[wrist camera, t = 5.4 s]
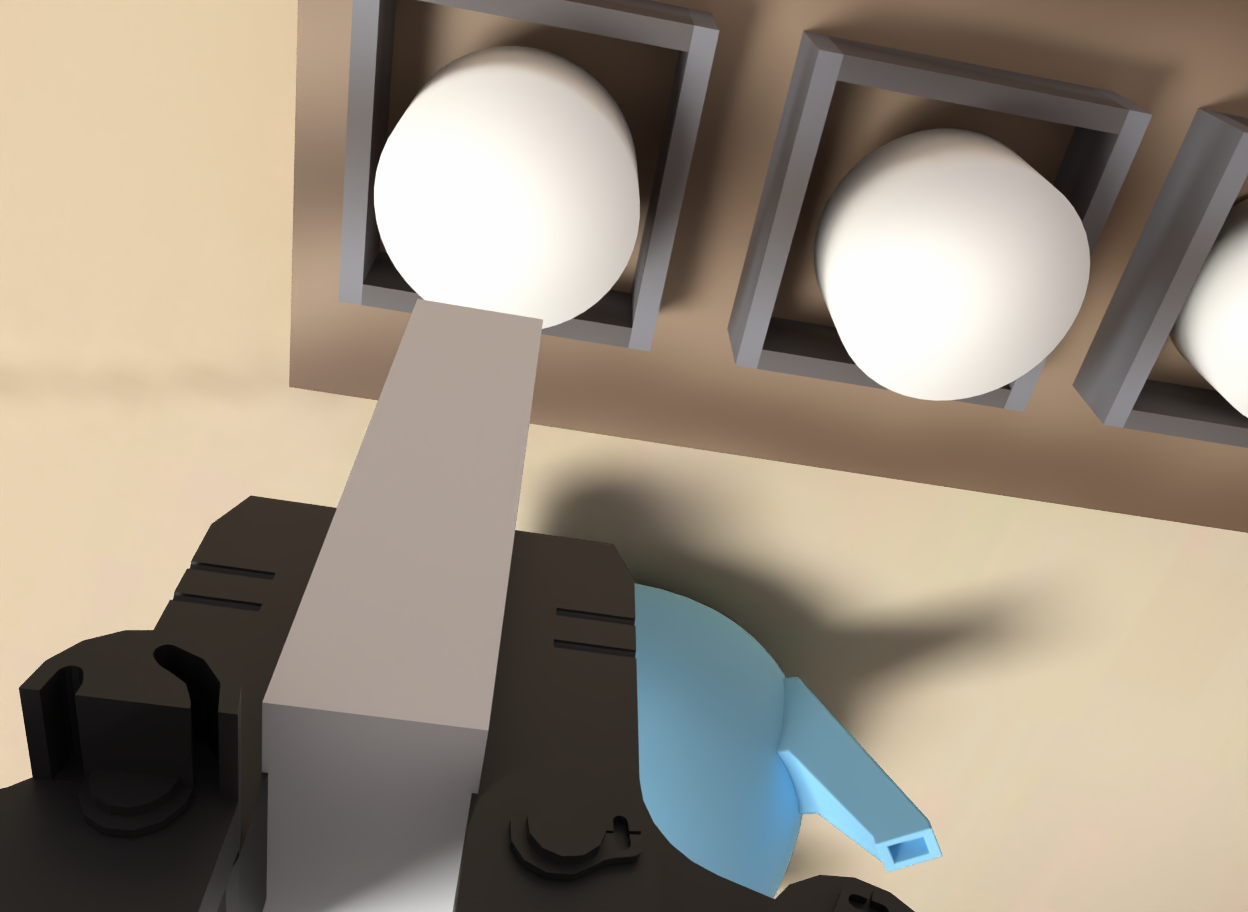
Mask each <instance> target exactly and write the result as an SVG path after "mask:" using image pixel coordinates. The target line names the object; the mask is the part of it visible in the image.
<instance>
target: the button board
mask: <svg viewBox="0 0 1248 912" xmlns="http://www.w3.org/2000/svg"><path fill="white" fill-rule="evenodd" d="M498 46H523V47H531V48H536V49H540V50H544V51H548V52H551V53H554V54H556V55H559V56H561V57H563V58H566V59H568V60H569V61H571V62H573V63H575V64H576V65H578V66H580V67H581V68H583V69H584V70H585V71H587V72H588V73H589V74H590V75H592V76H593V77H594V78H595V79H596V80H597V81H598V82H599V83H600V84H601V85H602V86H603V87H604V88H605V89H606V90H607V91H608V92H609V94H610V95H611V96H612V98H613V99H614V100H615V102H616V103H617V105H618V107H619V108H620V110H621V112H622V113H623V115H624V117H625V119H626V122H627V124H628V126H629V129H630V131H631V135H632V139H633V142H634V146H635V152H636V160H637V171H638V184H639V198H640V219H639V227H638V234H637V238H636V242H635V245H634V249H633V252H632V254H631V256H630V259H629V261H628V264H627V266H626V267H625V269H624V271H623V272H622V274H621V276H620V277H619V279H618V280H617V281H616V283H615V284H614V285H613V286H612V288H611V289H610V290H609V291H608V292H607V293H606V294H605V295H604V296H603V297H602V298H601V299H600V300H599V301H598V302H597V303H596V304H594V305H593V306H592V307H590V308H589V309H587V310H586V311H585V312H583V313H581V314H579V315H578V316H576V317H574V318H572V319H570V320H568V321H565V322H563V323H560V324H558V325H555V326H551V327H548V328H544V329H542V332H541V339H540V347H539V354H538V362H537V369H536V377H535V384H534V392H533V399H532V407H531V414H530V422H529V423H530V424H537V425H544V426H550V427H557V428H563V429H570V430H576V431H583V432H590V433H596V434H603V435H609V436H616V437H622V438H629V439H636V440H642V441H649V442H655V443H662V444H668V445H675V446H682V447H688V448H695V449H701V450H708V451H714V452H721V453H727V454H734V455H741V456H747V457H754V458H760V459H767V460H773V461H780V462H787V463H793V464H800V465H806V466H813V467H819V468H826V469H833V470H839V471H846V472H852V473H859V474H865V475H872V476H879V477H885V478H892V479H898V480H905V481H911V482H918V483H925V484H931V485H938V486H944V487H951V488H957V489H964V490H970V491H977V492H984V493H990V494H997V495H1003V496H1010V497H1016V498H1023V499H1030V500H1036V501H1043V502H1049V503H1056V504H1062V505H1069V506H1076V507H1082V508H1089V509H1095V510H1102V511H1108V512H1115V513H1122V514H1128V515H1135V516H1141V517H1148V518H1154V519H1161V520H1168V521H1174V522H1181V523H1187V524H1194V525H1200V526H1207V527H1213V528H1220V529H1227V530H1233V531H1240V532H1246V533H1248V418H1247V417H1246V416H1244V415H1243V414H1241V413H1240V412H1239V411H1238V410H1237V409H1235V408H1234V407H1233V406H1232V405H1231V404H1230V403H1229V402H1228V401H1227V400H1226V399H1225V398H1224V397H1223V396H1222V395H1221V394H1220V393H1219V392H1218V391H1217V390H1216V389H1215V388H1214V387H1213V386H1212V385H1211V384H1210V383H1209V382H1208V381H1207V380H1206V379H1205V378H1204V377H1203V376H1201V375H1200V374H1199V373H1198V372H1197V371H1196V370H1195V369H1194V368H1193V367H1192V366H1191V365H1190V364H1189V363H1188V362H1187V361H1186V360H1185V359H1184V358H1183V357H1182V355H1181V354H1180V353H1179V352H1178V351H1177V349H1176V347H1175V346H1174V344H1173V342H1172V340H1171V337H1170V335H1169V333H1170V331H1171V329H1172V327H1173V325H1174V323H1175V321H1176V319H1177V317H1178V315H1179V313H1180V311H1181V309H1182V307H1183V305H1184V303H1185V301H1186V299H1187V297H1188V295H1189V293H1190V291H1191V289H1192V287H1193V285H1194V283H1195V281H1196V278H1197V276H1198V274H1199V272H1200V270H1201V268H1202V266H1203V264H1204V262H1205V260H1206V258H1207V256H1208V254H1209V252H1210V250H1211V248H1212V246H1213V244H1214V242H1215V240H1216V238H1217V236H1218V234H1219V232H1220V230H1221V228H1222V226H1223V224H1224V222H1225V220H1226V218H1227V216H1228V214H1229V212H1230V210H1231V208H1232V207H1233V206H1235V205H1237V204H1238V203H1240V202H1242V201H1244V200H1246V199H1248V0H298V28H297V72H296V116H295V160H294V205H293V249H292V293H291V337H290V382H289V387H294V388H301V389H307V390H314V391H320V392H327V393H333V394H340V395H347V396H353V397H360V398H366V399H373V400H379V398H380V395H381V392H382V390H383V387H384V385H385V382H386V379H387V377H388V374H389V372H390V369H391V366H392V364H393V361H394V359H395V356H396V353H397V351H398V348H399V345H400V343H401V340H402V338H403V335H404V332H405V330H406V327H407V325H408V322H409V319H410V317H411V314H412V312H413V309H414V306H415V304H416V301H417V299H422V300H425V299H423V298H422V297H421V296H420V295H418V294H417V293H416V292H415V291H414V289H413V288H412V287H411V286H410V285H409V284H408V283H407V282H406V281H405V280H404V278H403V277H402V276H401V274H400V273H399V272H398V270H397V269H396V267H395V266H394V264H393V262H392V260H391V259H390V257H389V255H388V253H387V251H386V249H385V246H384V244H383V241H382V239H381V236H380V232H379V229H378V225H377V221H376V214H375V207H374V186H375V178H376V171H377V167H378V164H379V160H380V156H381V154H382V151H383V149H384V147H385V144H386V142H387V140H388V138H389V136H390V135H391V133H392V132H393V130H394V128H395V127H396V125H397V124H398V122H399V121H400V119H401V118H402V116H403V115H404V113H405V111H406V110H407V108H408V107H409V105H410V104H411V102H412V101H413V99H414V98H415V96H416V95H417V93H418V92H419V90H420V89H421V88H422V87H423V86H424V85H425V83H426V82H427V81H428V80H429V79H430V78H431V77H432V76H433V75H435V74H436V73H437V72H438V71H439V70H440V69H442V68H443V67H445V66H446V65H448V64H449V63H451V62H452V61H454V60H456V59H458V58H460V57H462V56H464V55H466V54H469V53H472V52H475V51H478V50H482V49H485V48H492V47H498ZM937 128H955V129H964V130H970V131H974V132H978V133H982V134H985V135H987V136H989V137H992V138H994V139H996V140H998V141H1000V142H1001V143H1003V144H1004V145H1006V146H1008V147H1009V148H1010V149H1012V150H1013V151H1014V152H1015V153H1016V154H1017V155H1018V156H1020V157H1021V158H1022V159H1023V160H1024V161H1025V162H1026V163H1028V164H1029V165H1030V166H1031V167H1032V168H1033V169H1034V170H1036V171H1037V172H1038V173H1039V174H1040V175H1041V176H1042V177H1044V178H1045V179H1046V180H1047V181H1048V182H1049V183H1050V184H1052V185H1053V186H1054V187H1055V188H1056V189H1057V190H1058V191H1060V192H1061V193H1062V194H1063V195H1064V196H1065V197H1066V199H1067V200H1068V201H1069V202H1070V203H1071V205H1072V206H1073V207H1074V209H1075V211H1076V212H1077V214H1078V216H1079V217H1080V219H1081V222H1082V224H1083V227H1084V229H1085V232H1086V235H1087V240H1088V245H1089V252H1090V272H1089V281H1088V285H1087V290H1086V294H1085V297H1084V300H1083V302H1082V305H1081V308H1080V310H1079V312H1078V314H1077V316H1076V318H1075V320H1074V322H1073V324H1072V326H1071V327H1070V329H1069V330H1068V332H1067V333H1066V335H1065V336H1064V338H1063V339H1062V340H1061V341H1060V343H1059V344H1058V345H1057V346H1056V347H1055V348H1054V350H1053V351H1052V352H1051V353H1050V354H1049V355H1048V356H1047V357H1046V358H1044V359H1043V360H1042V361H1041V362H1040V363H1039V364H1038V365H1036V366H1035V367H1034V368H1033V369H1031V370H1030V371H1029V372H1027V373H1026V374H1024V375H1023V376H1021V377H1019V378H1018V379H1016V380H1014V381H1013V382H1011V383H1009V384H1007V385H1005V386H1003V387H1000V388H998V389H996V390H993V391H990V392H988V393H985V394H982V395H978V396H974V397H970V398H964V399H957V400H940V401H934V400H924V399H917V398H913V397H909V396H905V395H902V394H899V393H896V392H894V391H891V390H889V389H887V388H886V387H884V386H882V385H880V384H878V383H877V382H875V381H874V380H873V379H871V378H870V377H869V376H867V375H866V374H865V373H864V372H863V371H862V370H861V369H860V368H859V367H858V366H857V365H856V363H855V362H854V361H853V359H852V358H851V357H850V355H849V354H848V352H847V350H846V348H845V346H844V345H843V343H842V341H841V338H840V336H839V333H838V331H837V329H836V326H835V324H834V322H833V319H832V317H831V315H830V312H829V310H828V308H827V305H826V303H825V301H824V298H823V296H822V294H821V291H820V288H819V285H818V283H817V279H816V274H815V269H814V241H815V236H816V231H817V226H818V223H819V220H820V217H821V215H822V212H823V210H824V208H825V206H826V204H827V202H828V200H829V198H830V196H831V194H832V193H833V191H834V190H835V188H836V187H837V185H838V184H839V183H840V182H841V180H842V179H843V178H844V177H845V176H846V175H847V173H848V172H849V171H850V170H851V169H852V168H853V167H854V166H855V165H857V164H858V163H859V162H860V161H861V160H862V159H863V158H865V157H866V156H868V155H869V154H870V153H872V152H873V151H874V150H876V149H878V148H879V147H881V146H883V145H885V144H887V143H888V142H890V141H893V140H895V139H898V138H900V137H902V136H905V135H908V134H912V133H915V132H919V131H924V130H930V129H937Z"/></svg>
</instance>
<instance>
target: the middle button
mask: <svg viewBox="0 0 1248 912" xmlns="http://www.w3.org/2000/svg"><path fill="white" fill-rule="evenodd" d="M814 269H815V274H816V279H817V283H818V285H819V288H820V291H821V294H822V296H823V298H824V301H825V303H826V305H827V308H828V310H829V312H830V315H831V317H832V319H833V322H834V324H835V326H836V329H837V331H838V333H839V336H840V338H841V341H842V343H843V345H844V346H845V348H846V350H847V352H848V354H849V355H850V357H851V358H852V359H853V361H854V362H855V363H856V365H857V366H858V367H859V368H860V369H861V370H862V371H863V372H864V373H865V374H866V375H867V376H869V377H870V378H871V379H873V380H874V381H875V382H877V383H878V384H880V385H882V386H884V387H886V388H887V389H889V390H891V391H894V392H896V393H899V394H902V395H905V396H909V397H913V398H917V399H924V400H934V401H940V400H957V399H964V398H970V397H974V396H978V395H982V394H985V393H988V392H990V391H993V390H996V389H998V388H1000V387H1003V386H1005V385H1007V384H1009V383H1011V382H1013V381H1014V380H1016V379H1018V378H1019V377H1021V376H1023V375H1024V374H1026V373H1027V372H1029V371H1030V370H1031V369H1033V368H1034V367H1035V366H1036V365H1038V364H1039V363H1040V362H1041V361H1042V360H1043V359H1044V358H1046V357H1047V356H1048V355H1049V354H1050V353H1051V352H1052V351H1053V350H1054V348H1055V347H1056V346H1057V345H1058V344H1059V343H1060V341H1061V340H1062V339H1063V338H1064V336H1065V335H1066V333H1067V332H1068V330H1069V329H1070V327H1071V326H1072V324H1073V322H1074V320H1075V318H1076V316H1077V314H1078V312H1079V310H1080V308H1081V305H1082V302H1083V300H1084V297H1085V294H1086V290H1087V285H1088V281H1089V272H1090V252H1089V245H1088V240H1087V235H1086V232H1085V229H1084V227H1083V224H1082V222H1081V219H1080V217H1079V216H1078V214H1077V212H1076V211H1075V209H1074V207H1073V206H1072V205H1071V203H1070V202H1069V201H1068V200H1067V199H1066V197H1065V196H1064V195H1063V194H1062V193H1061V192H1060V191H1058V190H1057V189H1056V188H1055V187H1054V186H1053V185H1052V184H1050V183H1049V182H1048V181H1047V180H1046V179H1045V178H1044V177H1042V176H1041V175H1040V174H1039V173H1038V172H1037V171H1036V170H1034V169H1033V168H1032V167H1031V166H1030V165H1029V164H1028V163H1026V162H1025V161H1024V160H1023V159H1022V158H1021V157H1020V156H1018V155H1017V154H1016V153H1015V152H1014V151H1013V150H1012V149H1010V148H1009V147H1008V146H1006V145H1004V144H1003V143H1001V142H1000V141H998V140H996V139H994V138H992V137H989V136H987V135H985V134H982V133H978V132H974V131H970V130H964V129H955V128H937V129H930V130H924V131H919V132H915V133H912V134H908V135H905V136H902V137H900V138H898V139H895V140H893V141H890V142H888V143H887V144H885V145H883V146H881V147H879V148H878V149H876V150H874V151H873V152H872V153H870V154H869V155H868V156H866V157H865V158H863V159H862V160H861V161H860V162H859V163H858V164H857V165H855V166H854V167H853V168H852V169H851V170H850V171H849V172H848V173H847V175H846V176H845V177H844V178H843V179H842V180H841V182H840V183H839V184H838V185H837V187H836V188H835V190H834V191H833V193H832V194H831V196H830V198H829V200H828V202H827V204H826V206H825V208H824V210H823V212H822V215H821V217H820V220H819V223H818V226H817V231H816V236H815V241H814Z"/></svg>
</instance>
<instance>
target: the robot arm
mask: <svg viewBox="0 0 1248 912" xmlns="http://www.w3.org/2000/svg"><path fill="white" fill-rule="evenodd" d="M542 324H543V319H537V318H531V317H525V316H519V315H513V314H507V313H501V312H495V311H489V310H482V309H476V308H470V307H464V306H458V305H452V304H446V303H440V302H434V301H428V300H422V299H417V301H416V304H415V306H414V309H413V312H412V314H411V317H410V319H409V322H408V325H407V327H406V330H405V332H404V335H403V338H402V340H401V343H400V345H399V348H398V351H397V353H396V356H395V359H394V361H393V364H392V366H391V369H390V372H389V374H388V377H387V379H386V382H385V385H384V387H383V390H382V392H381V395H380V398H379V400H378V403H377V405H376V408H375V411H374V413H373V416H372V418H371V421H370V424H369V426H368V429H367V431H366V434H365V437H364V439H363V442H362V444H361V447H360V450H359V452H358V455H357V457H356V460H355V463H354V465H353V468H352V470H351V473H350V476H349V478H348V481H347V483H346V486H345V489H344V491H343V494H342V496H341V499H340V502H339V504H338V507H337V508H333V507H326V506H319V505H312V504H305V503H298V502H291V501H284V500H277V499H270V498H264V497H257V496H250V497H248V498H247V499H246V500H244V501H243V502H241V503H240V504H239V505H237V506H236V507H235V508H233V509H232V510H230V511H229V512H228V513H226V514H225V515H223V516H222V517H221V518H219V519H218V520H217V521H215V522H214V523H212V524H211V526H210V528H209V530H208V531H207V533H206V535H205V537H204V539H203V541H202V542H201V544H200V546H199V548H198V550H197V552H196V553H195V555H194V557H193V559H192V561H191V567H190V569H187V570H186V572H185V574H184V575H183V577H182V579H181V581H180V583H179V584H178V586H177V588H176V590H175V592H174V598H173V600H170V601H169V603H168V605H167V606H166V608H165V610H164V612H163V614H162V616H161V617H160V619H159V621H158V623H157V625H156V627H155V628H154V630H125V631H121V632H117V633H113V634H108V635H104V636H100V637H96V638H92V639H88V640H84V641H82V642H80V643H78V644H76V645H74V646H72V647H70V648H68V649H67V650H65V651H63V652H61V653H59V654H57V655H55V656H53V657H51V658H50V659H48V660H46V661H45V662H44V663H43V664H42V665H41V666H40V667H39V668H38V669H37V670H36V671H35V672H34V673H33V674H32V675H31V676H30V677H29V678H28V679H27V680H26V681H25V682H24V683H23V684H22V685H21V686H20V687H19V692H20V698H21V705H22V711H23V717H24V724H25V730H26V737H27V743H28V749H29V756H30V762H31V769H32V775H33V777H32V778H30V779H27V780H25V781H22V782H20V783H17V784H15V785H12V786H9V787H7V788H2V789H0V912H914V911H913V910H912V909H911V908H909V907H908V906H907V905H905V904H904V903H903V902H902V901H900V900H899V899H898V898H897V897H895V896H894V895H893V894H892V893H890V892H888V891H886V890H883V889H881V888H878V887H876V886H873V885H871V884H869V883H866V882H864V881H861V880H859V879H857V878H852V877H839V876H827V875H818V876H815V877H812V878H809V879H806V880H803V881H799V882H796V883H793V884H790V885H789V886H788V887H787V888H786V889H785V890H784V891H783V892H782V893H781V894H780V895H779V896H778V897H777V898H776V899H773V898H771V897H768V896H766V895H764V894H761V893H759V892H756V891H754V890H752V889H749V888H747V887H745V886H742V885H740V884H738V883H735V882H733V881H730V880H728V879H726V878H723V877H721V876H719V875H717V874H715V873H713V872H711V871H709V870H707V869H705V868H704V867H702V866H700V865H698V864H696V863H694V862H693V861H691V860H690V859H689V858H688V857H686V856H685V855H684V854H683V853H681V852H680V851H679V850H678V849H677V848H675V847H674V846H673V845H672V844H671V843H670V842H669V841H668V840H667V839H666V837H665V836H664V835H663V833H662V832H661V831H660V830H659V828H658V827H657V826H656V825H655V823H654V822H653V820H652V818H651V816H650V814H649V811H648V809H647V807H646V805H645V803H644V801H643V796H642V790H641V784H640V776H639V737H638V698H637V659H636V658H635V655H636V626H635V581H634V579H633V577H632V575H631V574H630V572H629V570H628V568H627V567H626V565H625V563H624V562H623V560H622V558H621V557H620V555H619V553H618V552H617V550H616V548H615V547H614V545H613V544H607V543H600V542H593V541H586V540H579V539H572V538H566V537H559V536H552V535H545V534H538V533H531V532H524V531H517V530H515V527H516V519H517V512H518V504H519V497H520V489H521V482H522V474H523V467H524V459H525V452H526V444H527V437H528V429H529V422H530V414H531V407H532V399H533V392H534V384H535V377H536V369H537V362H538V354H539V347H540V339H541V332H542Z"/></svg>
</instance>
